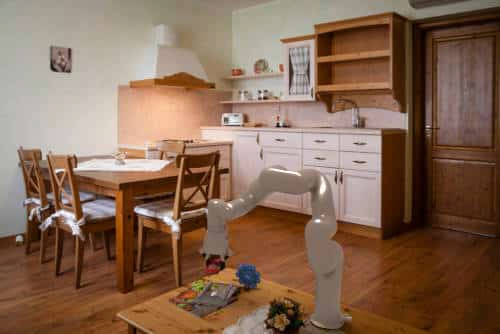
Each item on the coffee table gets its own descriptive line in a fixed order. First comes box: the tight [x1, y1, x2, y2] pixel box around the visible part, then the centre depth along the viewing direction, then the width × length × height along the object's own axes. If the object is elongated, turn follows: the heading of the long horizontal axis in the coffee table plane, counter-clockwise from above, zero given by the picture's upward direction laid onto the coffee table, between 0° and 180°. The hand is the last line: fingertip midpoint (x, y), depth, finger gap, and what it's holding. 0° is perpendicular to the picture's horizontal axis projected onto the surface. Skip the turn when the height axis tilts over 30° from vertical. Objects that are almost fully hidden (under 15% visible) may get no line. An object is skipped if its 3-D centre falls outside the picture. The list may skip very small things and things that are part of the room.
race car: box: [205, 258, 222, 276], centre depth 188 cm, size 13×5×4 cm, turn 162°
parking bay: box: [192, 280, 238, 308], centre depth 189 cm, size 14×21×2 cm, turn 168°
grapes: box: [235, 262, 262, 289], centre depth 196 cm, size 12×7×12 cm, turn 84°
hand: (215, 268), depth 188 cm, fingers closed on race car, 5 cm apart
